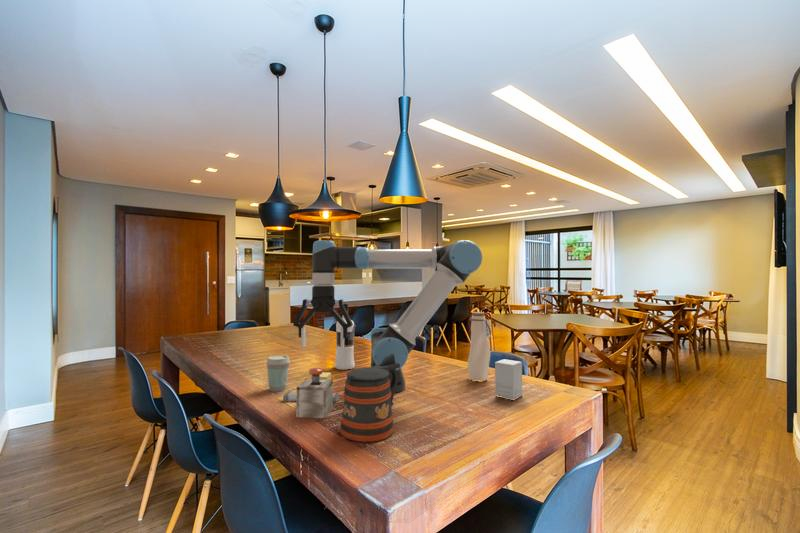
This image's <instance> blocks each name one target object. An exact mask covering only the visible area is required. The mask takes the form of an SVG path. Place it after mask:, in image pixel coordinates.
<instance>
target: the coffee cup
mask: <svg viewBox="0 0 800 533" xmlns="http://www.w3.org/2000/svg"><path fill="white" fill-rule="evenodd" d="M265 363H266V365H267V377H268V387H269V389H268V390H269V391H270V392H273V393H278V392H284V391H285V390H286V389H287V384H288V383H287V382H288V375H289V367H290V364H291V360H290V358H289V356H288V355H281V354H279V355H278V354H277V355H271V356H269V357H267V359H266V362H265Z"/></svg>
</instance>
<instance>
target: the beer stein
mask: <svg viewBox="0 0 800 533" xmlns="http://www.w3.org/2000/svg"><path fill="white" fill-rule="evenodd" d="M396 368H400V364H399V363H395V356H394V354H390V355H388V356H386V357H385V358H384V359H383V361H382V363H381V364H379V365H375V366H374V367H371V366H367V367H366V366H365V367H358V368H354V369H353V370H352V369H351V371H349V372H347V374H346V375H347V376H346V380H345V381H344V391H343V398H344V400H343V409H342V413H341V417H340V418H341V420H340V429H339V431H340V434H341V435H342V437H343V438H344V439H347V440H348V441H352V442H358V443H372V442H374V443H375V442H379V441H384V440H386V439H388V438H389V437H390V436H391V435H392V434H393V433H394V426H395V425H394V414H393V411H392V407H393V405H394V402H393V400H394V397H395V394H396V393H395V391H396V388H397V382H398V376H397V371H396ZM388 371H390V372H391V373H392V382H391V384H390V379H389V377H388V376H389V372H388Z"/></svg>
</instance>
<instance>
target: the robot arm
mask: <svg viewBox="0 0 800 533" xmlns="http://www.w3.org/2000/svg"><path fill="white" fill-rule="evenodd" d="M311 256H312V258H311V259H312V262H311V263H312V277H311V278H312V279H311V280H312V282H311V283H312V285H313V286H312V287H311V289H312V290H311V293H312V294H311V295H312V296H311V299H308V298H306V299H305V298H304V299H303V300H302V303H301V304H302V305H301V307H300V309H299V312H298V313H297V316H296V317H295V320H294V321H293V324H292V326H293V327H296V328H298V338H300V339H301V340H300V344H301V345H300V346H301V349H302V348H305V347H306V345H307V344H306V343H307V337H306V336H307V334H306V333H307V332H306V331H307V327H305V325H306V324H307V323H308V322H309V321H310V320H311V318H312V317H313V316H314V315H315V314H316V313H323V314H324V313H330V314H331V315H332V316H333V317H334V319H335V320H336V321H338V322H339V323H340V325H341V326H342V327H343V328H341V348H343V347H344V338H346V337H347V328H348V327H351V326H352V325H353V323H352V321H353V320H352V319H351V317H350V315H349V312H348V313H347V311H346V309H345V307H344V303H345V300H344V299H343V298H342V299H337V300H336V299H335V286H334V285H335V273H336V271H335V269H348V270H382V269H385V270H391V269H393V270H394V269H395V270H399V269H400V270H401V269H402V270H403V269H405V270H407V269H409V270H410V269H417V270H418V269H422V270H423V269H424V270H425V269H427V270H428V269H431V270H432V271H433V272H435V273H434V274H433V275H432V276H431V278H430V279H429V280H428V281H427V283H426V284H424V286H423V287H422V289H421V291H420V292H419V293H418V294H417V296H416V297H415V298H414V299H413V300H412V301H411V303H410V305H409V306H408V307H407V308H406V310H405V311H404V312H403V313H402V314H401V316H400V317H399V319H398V320H397V321H396V322H394V323H389V325H388V326H387V327H373V328H371V334H370V337H371V338H370V367H374V366H375V365H379V364H381V363H382V361H383V359H384V358H385V357H386V356H388V355H390V354H394V356H395V363H399V364H400V368H396V371H397V376H398V382H397V388H396V391H395V394H396V393H399V392H402V391H404V390H406V380H405V376H404V373H403V369H402V368H403V367H404V366H405V364H406V363H407V361H408V358H409V354H410V353H411V352H412V351H413V349H414V348H415V346H416V338H417V337H418V335H419V334H420V333H421V331H422V330H423V329H424V328H425V326H426V325H427V323H428V322H429V321H430V319H432V317H433V316H434V314H436V312H437V311H438V310H439V308H440V306H441V305H442V304H443V303H444V302H445V301H446V299H447V298H448V297H449V295H450V294H451V293H452V291H453V290H454V288H456V286H457V285H463V284H464V282H465V281H466V280H467V279H468V277H469V276H470V275H471V274H473V273H475V272H476V271H477V270H478V269H479V268H480V267H481V265H482V263H483V254H482V251H481V248H480V247H479V246H478V245H477V243H475V242H474V241H471V240H466V239H461V240H457V241H456V242H454V243H451V244H447V245H440V246H432V247H431V248H430V249H429V248H428V249H427V248H426V249H425V248H420V249H418V248H415V249H414V248H413V249H411V248H410V249H407V248H403V249H400V248H399V249H397V248H395V249H394V248H393V249H390V248H389V249H388V248H387V249H382V248H381V249H376V248H375V249H369V248H368V247H366V246H365V247H364V246H363V247H362V246H336V244H335V241H334V240H323V239H322V240H316V241H314V242H313V244H312V254H311ZM310 305H311V306H312V308H311V310H310V311H309V313H307V315H306V316H305V317H304V318H303V316H304V314H305V312H306V310H307V308H308V306H310ZM335 305H337V307H339V309H340V311H341V314H342V316H341V315H340V314H339V313H338V312H337V310H336V309H335ZM343 316H344V318H345V320H346V322H347V324H346V323H345V321H344V320H343V319H342V317H343ZM302 319H303V320H302ZM301 320H302V321H301ZM351 320H352V321H351ZM388 372H389V376H388V377H389V379H390V384H391V382H392V373H391V372H390V371H388Z"/></svg>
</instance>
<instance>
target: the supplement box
mask: <svg viewBox="0 0 800 533" xmlns="http://www.w3.org/2000/svg"><path fill="white" fill-rule="evenodd" d="M494 394H495V395H498V396H502V397H505V398H509V399H516V398H517V397H520V396H521V395H522V396H523V362H522V361H520V360H513V359H507V358H504V359H499V360H498V361H495V362H494ZM495 395H494V396H495Z"/></svg>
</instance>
